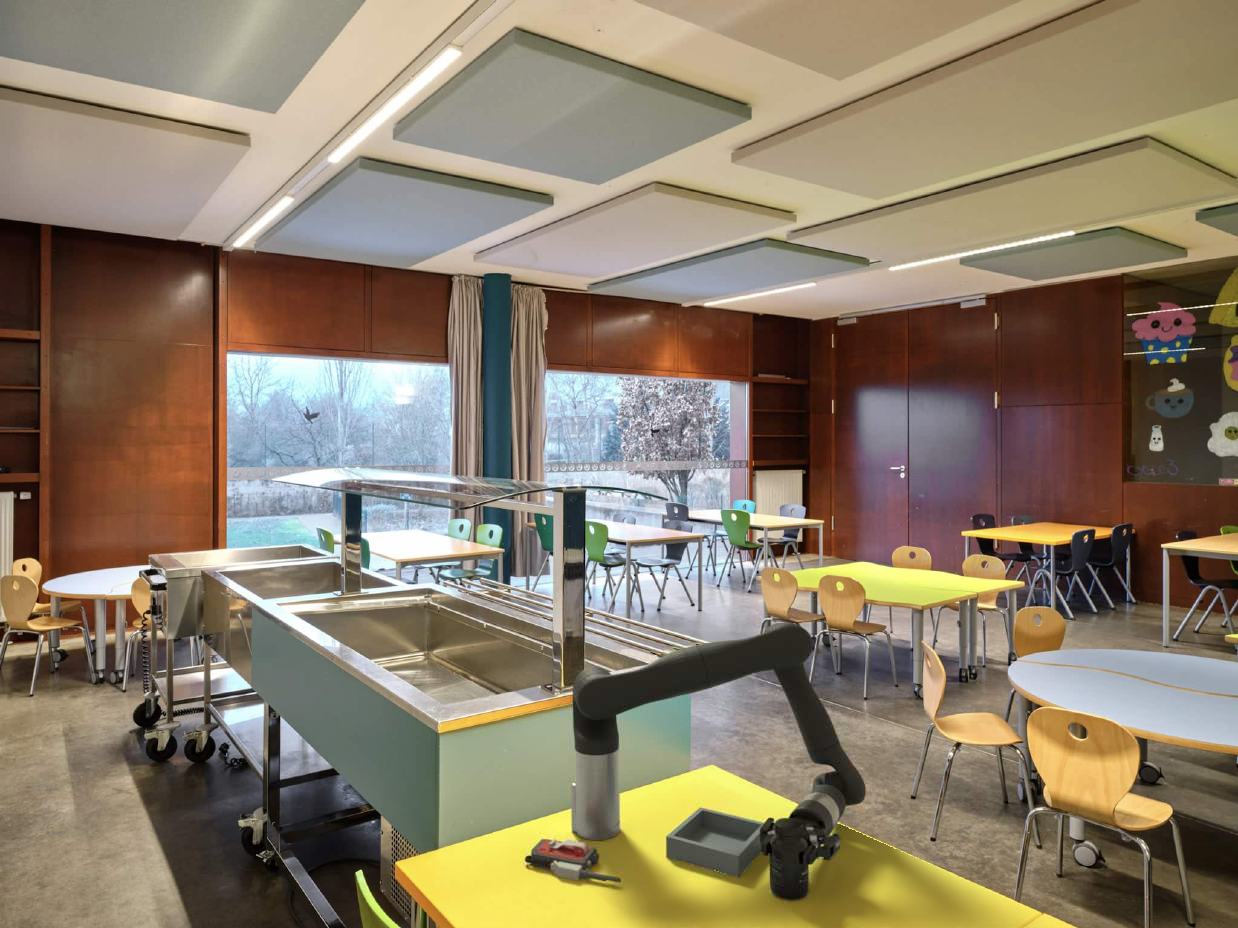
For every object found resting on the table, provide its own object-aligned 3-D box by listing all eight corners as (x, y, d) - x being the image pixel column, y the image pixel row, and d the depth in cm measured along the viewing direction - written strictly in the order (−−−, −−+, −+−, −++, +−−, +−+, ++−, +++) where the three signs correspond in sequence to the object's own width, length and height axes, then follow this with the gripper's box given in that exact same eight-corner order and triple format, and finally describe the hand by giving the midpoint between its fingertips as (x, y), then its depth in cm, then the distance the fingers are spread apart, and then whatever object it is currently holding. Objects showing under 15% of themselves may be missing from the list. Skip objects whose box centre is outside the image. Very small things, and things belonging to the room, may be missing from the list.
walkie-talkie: (519, 872, 149) (618, 891, 142) (518, 848, 149) (618, 866, 142) (539, 850, 157) (634, 867, 150) (539, 828, 157) (634, 844, 150)
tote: (666, 857, 153) (666, 836, 153) (700, 826, 166) (700, 807, 166) (738, 877, 145) (738, 856, 145) (768, 843, 158) (768, 823, 158)
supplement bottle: (813, 901, 137) (812, 832, 137) (773, 901, 137) (772, 832, 137) (804, 880, 144) (803, 814, 144) (766, 880, 144) (765, 814, 144)
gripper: (778, 791, 157) (745, 824, 143) (851, 807, 149) (824, 844, 135) (778, 829, 157) (746, 866, 143) (852, 847, 149) (825, 888, 135)
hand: (784, 855), depth 139 cm, fingers closed on supplement bottle, 7 cm apart
